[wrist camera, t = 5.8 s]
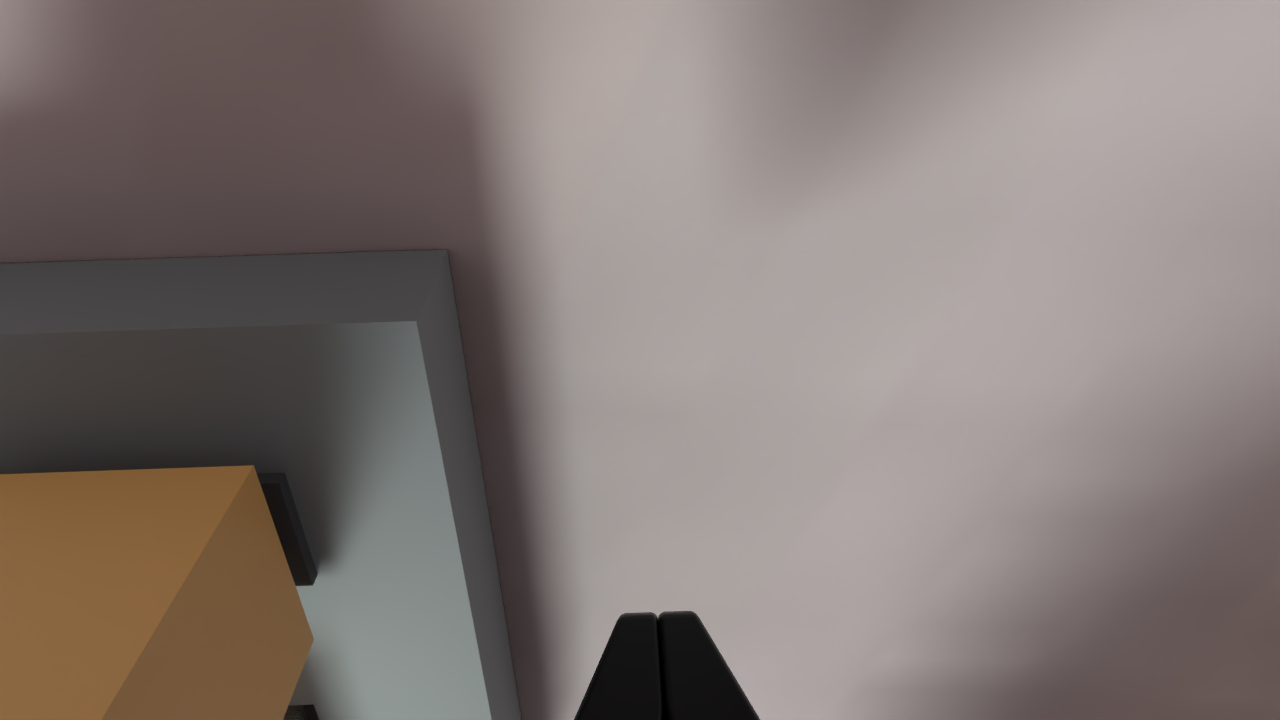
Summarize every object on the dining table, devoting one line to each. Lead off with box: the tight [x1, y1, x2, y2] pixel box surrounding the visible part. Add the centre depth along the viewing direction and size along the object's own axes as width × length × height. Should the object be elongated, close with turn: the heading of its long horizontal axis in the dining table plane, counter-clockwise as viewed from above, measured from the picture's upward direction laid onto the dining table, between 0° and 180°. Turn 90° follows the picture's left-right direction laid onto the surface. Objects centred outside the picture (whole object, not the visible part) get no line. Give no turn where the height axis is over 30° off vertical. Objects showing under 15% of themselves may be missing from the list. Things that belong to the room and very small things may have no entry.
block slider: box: [0, 465, 314, 720], centre depth 9 cm, size 4×3×4 cm
